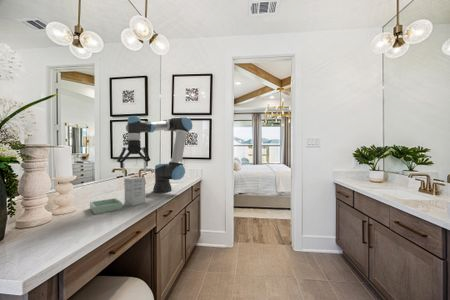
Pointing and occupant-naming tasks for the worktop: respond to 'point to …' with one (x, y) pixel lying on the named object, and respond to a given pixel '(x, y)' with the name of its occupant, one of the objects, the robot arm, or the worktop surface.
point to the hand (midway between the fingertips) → (134, 172)
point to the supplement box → (134, 190)
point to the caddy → (105, 206)
